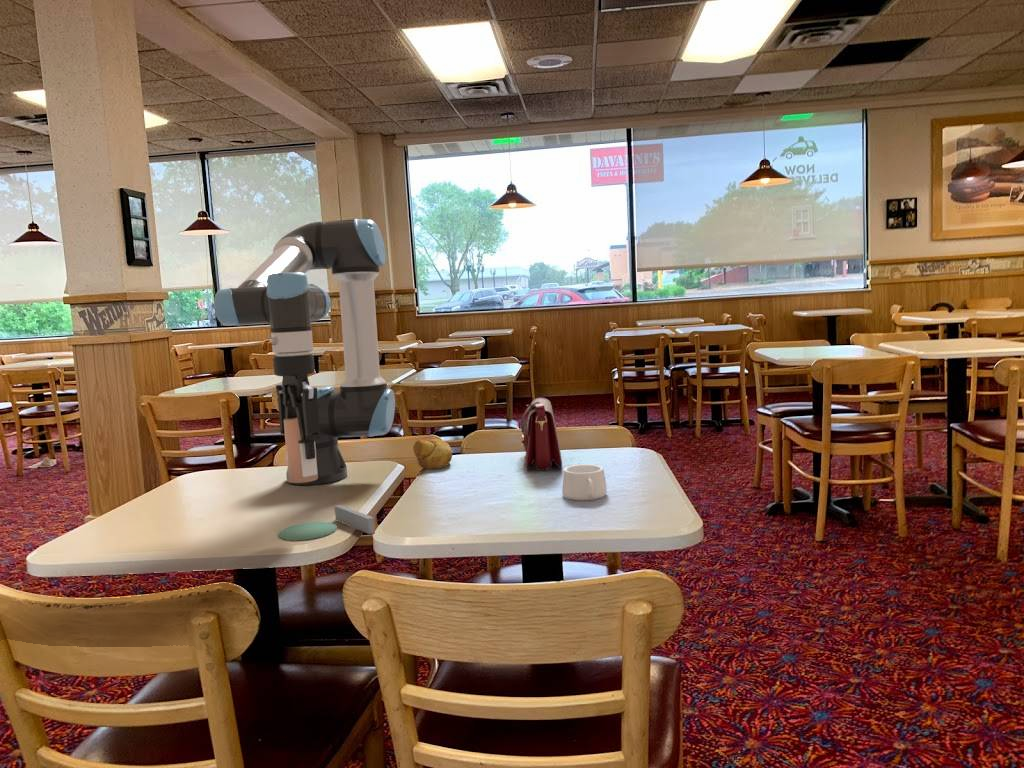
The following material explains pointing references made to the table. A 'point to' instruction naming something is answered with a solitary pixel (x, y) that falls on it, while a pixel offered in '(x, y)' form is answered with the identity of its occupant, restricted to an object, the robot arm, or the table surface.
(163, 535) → the table surface
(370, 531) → the rail
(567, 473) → the mug
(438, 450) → the bread roll
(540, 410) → the handbag
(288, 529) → the pad
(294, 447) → the peach rounded cylinder
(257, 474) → the table surface
